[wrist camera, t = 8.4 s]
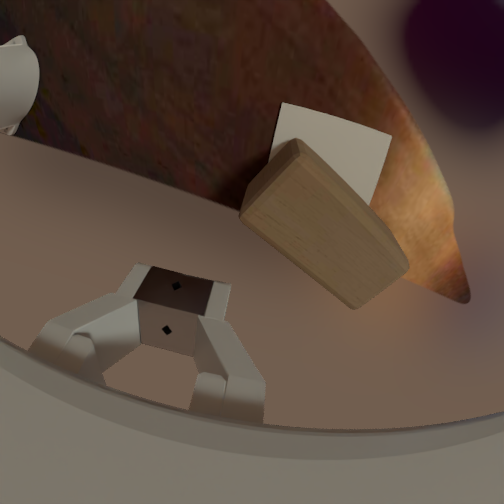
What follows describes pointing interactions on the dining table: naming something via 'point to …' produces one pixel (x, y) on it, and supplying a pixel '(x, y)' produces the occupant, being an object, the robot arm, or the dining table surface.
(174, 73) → the dining table surface
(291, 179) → the wooden block
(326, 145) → the mat
